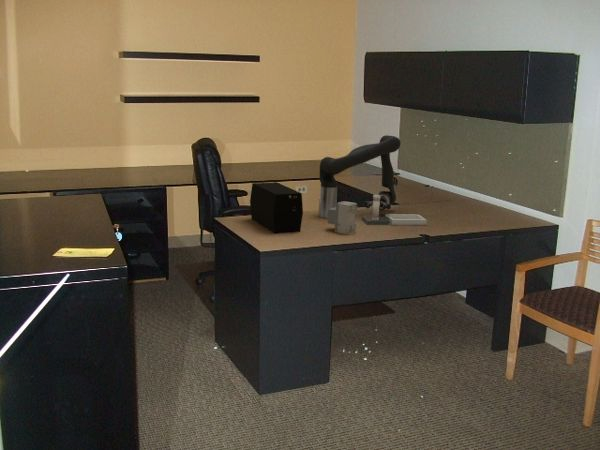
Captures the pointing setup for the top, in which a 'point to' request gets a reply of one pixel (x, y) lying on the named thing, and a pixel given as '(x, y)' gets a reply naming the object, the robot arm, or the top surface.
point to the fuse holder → (369, 220)
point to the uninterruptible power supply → (276, 207)
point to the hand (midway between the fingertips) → (375, 207)
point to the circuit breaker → (343, 217)
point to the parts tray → (405, 219)
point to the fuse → (376, 207)
